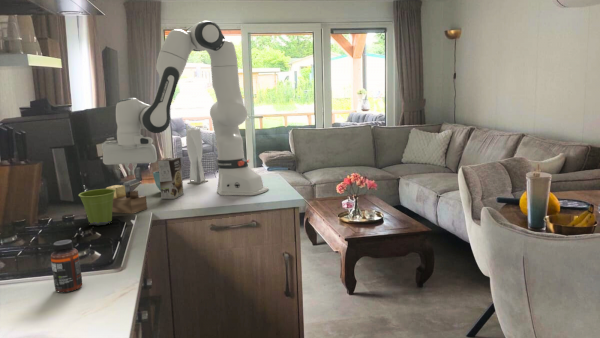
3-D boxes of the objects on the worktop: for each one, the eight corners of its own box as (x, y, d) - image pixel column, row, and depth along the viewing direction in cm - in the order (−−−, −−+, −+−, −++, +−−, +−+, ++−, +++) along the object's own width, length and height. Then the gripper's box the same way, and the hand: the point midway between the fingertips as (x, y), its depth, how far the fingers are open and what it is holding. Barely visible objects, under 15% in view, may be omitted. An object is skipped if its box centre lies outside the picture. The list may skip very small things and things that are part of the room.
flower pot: (166, 193, 230) (165, 173, 229) (154, 192, 235) (152, 172, 234) (182, 190, 237) (180, 170, 235) (169, 188, 242) (168, 169, 241)
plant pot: (76, 225, 182) (72, 193, 181) (108, 218, 191) (104, 187, 189) (92, 230, 174) (88, 197, 173) (125, 222, 183) (121, 190, 181)
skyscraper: (185, 183, 253) (179, 125, 248) (194, 180, 260) (190, 123, 255) (199, 184, 249) (194, 124, 245) (209, 180, 256) (204, 123, 252)
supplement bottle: (81, 281, 127) (75, 236, 126) (84, 289, 122) (78, 242, 120) (54, 287, 125) (48, 241, 123) (56, 295, 120) (49, 247, 118)
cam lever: (129, 197, 200) (126, 172, 198) (124, 197, 200) (122, 172, 199) (143, 191, 210) (141, 167, 209) (138, 191, 211) (136, 167, 209)
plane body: (147, 208, 203) (145, 189, 202) (132, 213, 196) (130, 193, 195) (118, 206, 210) (116, 187, 208) (102, 211, 203) (100, 192, 201)
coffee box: (175, 198, 219) (171, 160, 216) (160, 198, 220) (157, 160, 217) (184, 194, 227) (181, 157, 225) (170, 194, 229) (167, 157, 226)
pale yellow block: (126, 195, 205) (125, 185, 204) (116, 198, 200) (115, 188, 200) (116, 195, 207) (115, 185, 206) (107, 197, 202) (105, 187, 202)
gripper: (99, 141, 201) (102, 177, 203) (155, 139, 205) (157, 174, 207) (102, 140, 207) (104, 175, 209) (156, 138, 211) (158, 172, 213)
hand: (131, 175), depth 208 cm, fingers closed
